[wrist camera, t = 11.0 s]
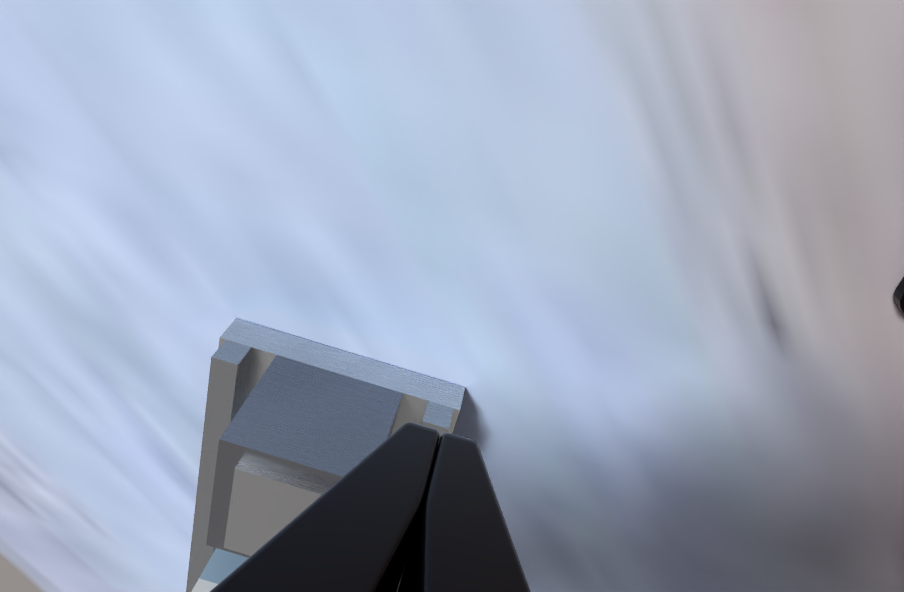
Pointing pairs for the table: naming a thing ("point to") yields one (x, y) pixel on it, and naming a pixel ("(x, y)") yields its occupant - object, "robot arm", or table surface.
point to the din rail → (293, 431)
